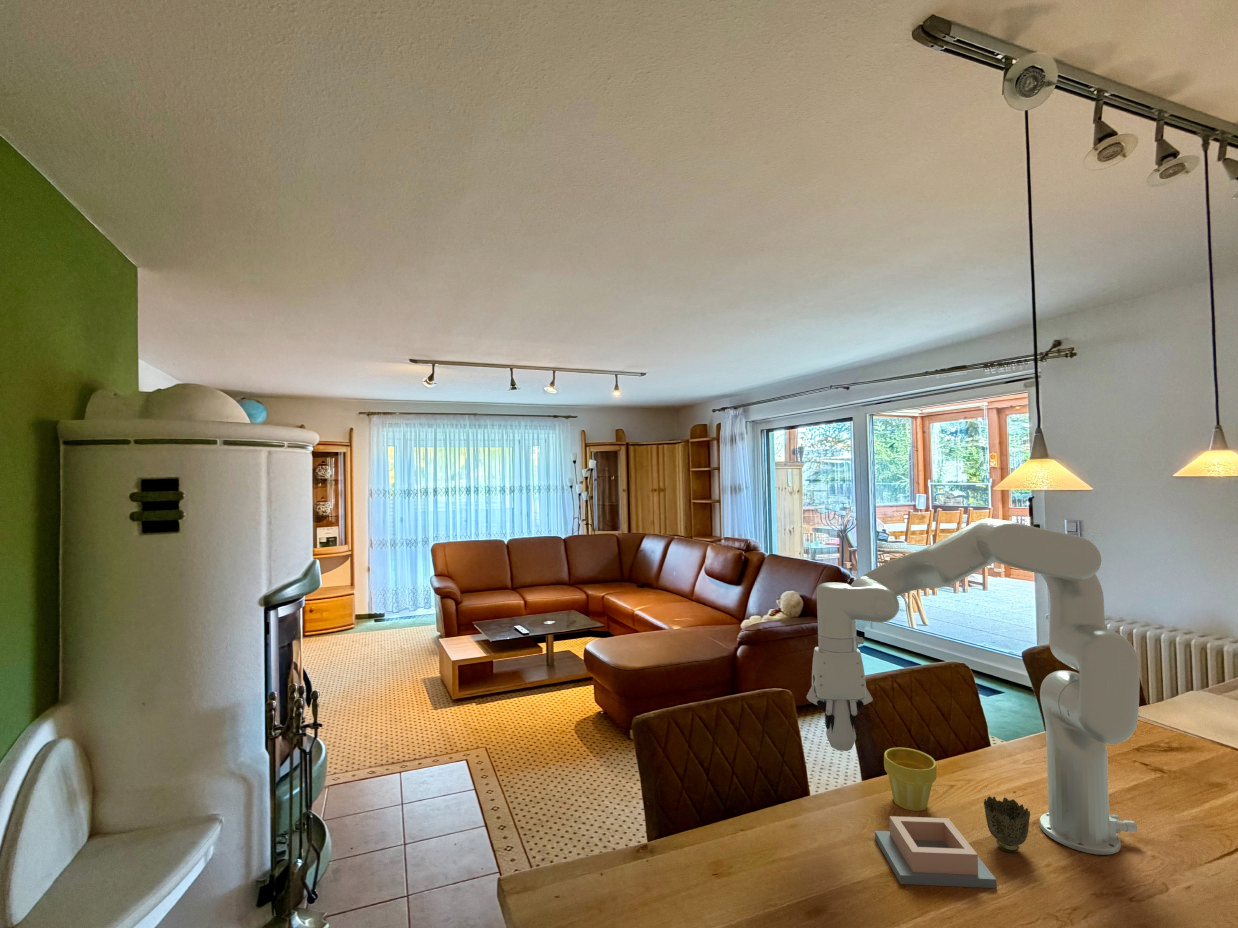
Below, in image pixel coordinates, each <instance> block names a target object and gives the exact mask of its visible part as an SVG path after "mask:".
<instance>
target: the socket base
mask: <svg viewBox="0 0 1238 928" xmlns="http://www.w3.org/2000/svg"><path fill="white" fill-rule="evenodd" d="M874 839H875V841H876V843H877V844H878V846H879V848H880V850H881V851H882V853H883V856H884V857H885V859H886V860H887V862H888V865H889V866H890V868H891V869H892V871H893V873H894V875H895V876H896V879H897V880H898V882H899V884H900V885H917V886H919V885H920V886H938V887H939V886H944V887H961V888H962V887H965V888H984V889H985V888H986V889H988V888H989V889H997V887H998V885H997V878H996V877H995V875H993V873H992V872H991V871H990V870H989V868H988V867H987V866H986V865H985V863H984V862H983V861H982V860H981V858H980V857H979V856H978V855H979V854H978V853H977V852H976V850H975V849H974V848H973V847H972V845H971V844H970V843H969V841H968V840H966V838H965V837H964V836H963V834H962V833H961V832H960V831H959V829H958V828H957V827H956V826H955V825H954V824H953V822H952V821H951V819H950V818H948V817H947V818H945V817H921V816H919V817H918V816H894V815H893V816H892V815H890V816H889V831H887V830H875V831H874Z"/></svg>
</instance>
